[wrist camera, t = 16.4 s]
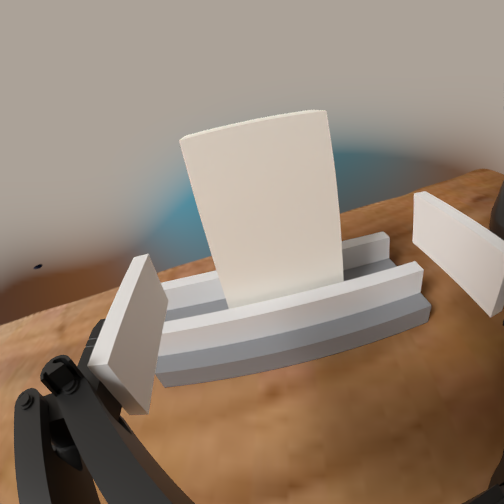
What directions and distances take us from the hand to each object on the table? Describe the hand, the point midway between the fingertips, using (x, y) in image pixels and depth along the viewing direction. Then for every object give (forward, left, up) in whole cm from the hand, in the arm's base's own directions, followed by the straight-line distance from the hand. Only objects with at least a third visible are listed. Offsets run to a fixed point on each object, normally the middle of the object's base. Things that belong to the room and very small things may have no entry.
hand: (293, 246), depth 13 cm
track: (-8, -5, -13) cm, 16 cm away
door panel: (-8, -5, -11) cm, 14 cm away
